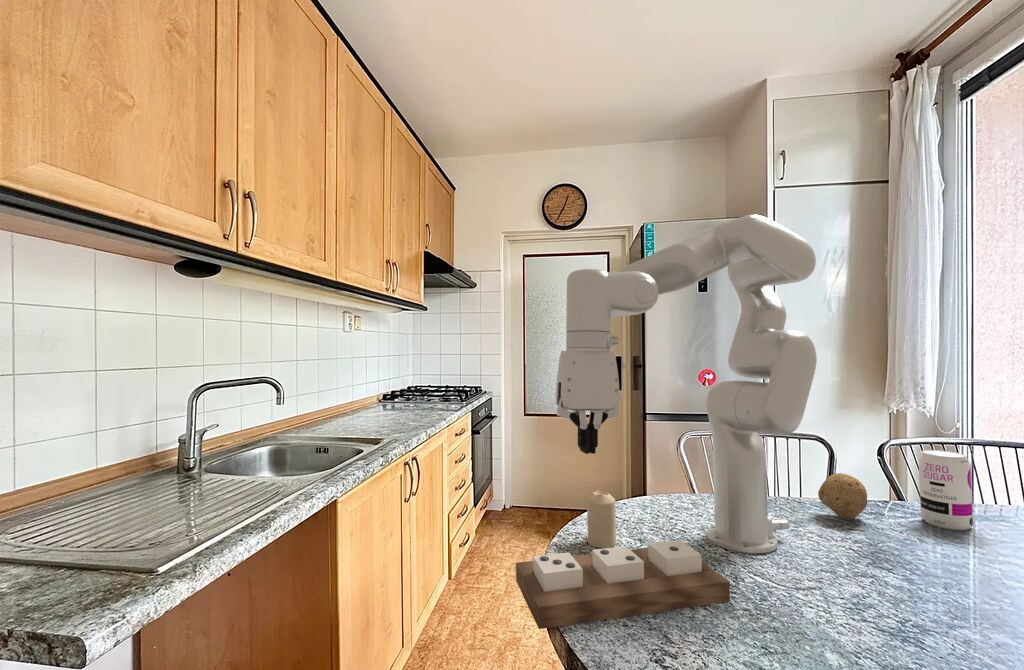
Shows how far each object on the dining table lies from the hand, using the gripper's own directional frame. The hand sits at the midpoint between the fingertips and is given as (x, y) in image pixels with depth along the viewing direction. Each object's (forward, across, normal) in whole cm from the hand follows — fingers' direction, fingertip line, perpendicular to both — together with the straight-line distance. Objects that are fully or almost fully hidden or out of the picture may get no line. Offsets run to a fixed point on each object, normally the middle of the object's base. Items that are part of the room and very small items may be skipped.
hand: (587, 451), depth 80 cm
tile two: (+19, -4, +4) cm, 19 cm away
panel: (+21, -4, +4) cm, 22 cm away
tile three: (+19, +6, +4) cm, 20 cm away
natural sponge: (+19, -66, -13) cm, 70 cm away
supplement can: (+19, -84, -5) cm, 86 cm away
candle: (+21, -8, -14) cm, 26 cm away
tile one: (+18, -14, +4) cm, 23 cm away
